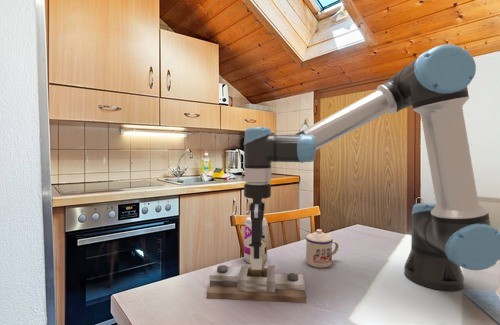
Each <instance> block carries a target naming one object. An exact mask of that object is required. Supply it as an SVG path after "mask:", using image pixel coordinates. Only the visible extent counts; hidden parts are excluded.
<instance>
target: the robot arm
mask: <svg viewBox="0 0 500 325" xmlns="http://www.w3.org/2000/svg"><path fill="white" fill-rule="evenodd" d="M476 69H477V66H476V62H475V59H474V57H473V55H472V54H471V53H470V52H469V51H468V50H467V49H465V48H462V47H460V46H459V45H456V44H448V43H447V44H441V45H437V46H434V47H433V48H431V49H429V50H426V51H424V52H423V53H421V54H420V55H419V56H418V57H416V58H415V60H413V61H411V62H410V63H409V64H407V65H406V66H404V67H403V68H402V69H400V70H399V71H398V72H396V74H395V75H393V76H392V77H390V78H389V79H388V80H386V81H384V82H383V83H381V84H379V85H377V87H376V90H375V91H373V92H372V93H369V94H367V95H365V96H364V97H362V98H360V99H358V100H356V101H354V102H353V103H351V104H350V105H347V106H345V107H344V108H341V109H340V110H338V111H336V112H334V113H332V114H331V115H329V116H327V117H324V118H323V119H321V120H319V121H317V122H316V123H313V124H312V125H310V126H308V127H306V128H305V129H303V130H301V131H299V132H297V133H295V134H273V132H272V129H271V128H270V127H267V126H263V127H262V126H254V127H248V128H246V129H245V131H244V142H243V162H244V164H243V167H244V168H243V169H244V170H243V171H241V174H242V175H244V178H243V181H244V182H245V183H244V184H243V196H244V198H246V199H252V202H250V204H249V211H250V216H251V220H252V243H251V244H249V246H252V269H256V270H262V244H261V238H265V235H262V234H263V231H262V220H263V217H265V214H264V213H265V206H266V205H265V204H266V203H265V202H263V199H269V198H270V197H271V196H272V185H271V182H272V163H277V162H278V163H301V164H302V163H304V164H305V163H313V162H314V161H315V159H316V153H317V150H319V149H320V148H323V147H325V146H326V145H329V144H330V143H332V142H334V141H336V140H338V139H340V138H342V137H344V136H345V135H348V134H350V133H352V132H354V131H355V130H357V129H360V128H361V127H363V126H365V125H367V124H369V123H371V122H373V121H375V120H376V119H379V118H381V117H383V116H384V115H387V114H392V115H393V114H396V113H397V112H399V111H402V110H404V109H408V108H410V107H412V110H413V111H414V112H415V113H416V114H417V113H418V114H419V116H420V119H421V123H422V129H423V135H424V141H425V146H426V153H427V158H428V163H429V164H428V165H429V169H430V176H431V180H432V181H431V182H432V187H433V193H434V199H435V203H415V204H414V205H412V209H411V210H412V212H411V241H410V242H411V245H410V246H411V249H410V252H409V254H408V257H407V259H406V261H405V264H404V266H403V274H404V276H405V277H406V278H407V279H408V280H410V281H412V282H414V283H416V284H417V285H420V286H423V287H425V288H428V289H429V288H430V289H434V290H437V291H445V292H446V291H447V292H449V291H450V292H451V291H452V292H455V291H461V290H462V289H463V288H464V287H465V278H464V273H463V272H462V269H461V268H464V269H466V270H469V271H483V270H487V269H490V268H492V267H493V266H496V264H497V262H498V261H500V231H499V230H498V229H497V228H495V227H494V226H492V225H491V221H490V215H489V210H488V208H486V207H484V206H483V205H481V204H480V203H479V198H478V192H477V188H476V180H475V174H474V168H473V163H472V158H471V157H472V156H471V150H470V145H469V140H468V132H467V127H466V122H465V121H466V120H465V113H464V109H463V107H464V105H465V104H466V102H467V101H468V100H469V99H470V96H469V88H468V86H469V85H470V83H471V82H472V80H473V79H474V77H475V75H476ZM262 240H263V239H262Z"/></svg>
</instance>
